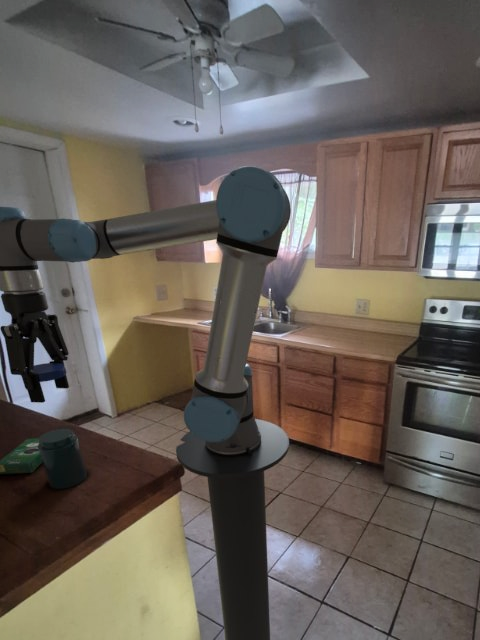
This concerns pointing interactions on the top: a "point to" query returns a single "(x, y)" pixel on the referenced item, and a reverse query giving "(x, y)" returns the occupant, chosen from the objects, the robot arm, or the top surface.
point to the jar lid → (49, 371)
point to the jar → (62, 458)
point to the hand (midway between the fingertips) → (51, 394)
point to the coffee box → (22, 458)
